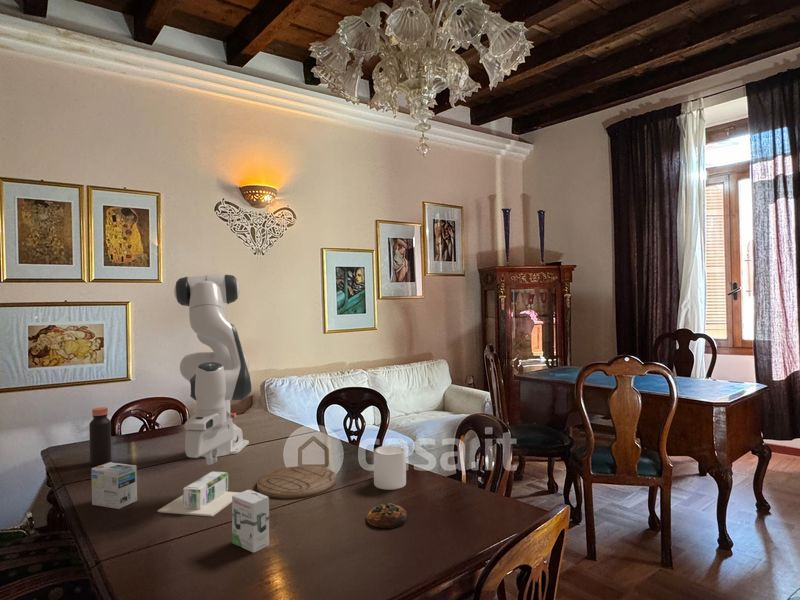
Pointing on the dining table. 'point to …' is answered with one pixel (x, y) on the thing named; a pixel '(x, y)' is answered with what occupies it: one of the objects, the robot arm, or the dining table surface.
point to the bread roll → (387, 516)
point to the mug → (389, 467)
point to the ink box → (250, 520)
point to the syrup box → (205, 490)
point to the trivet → (296, 482)
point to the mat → (207, 510)
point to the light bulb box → (114, 485)
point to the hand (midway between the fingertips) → (211, 463)
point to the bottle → (100, 437)
